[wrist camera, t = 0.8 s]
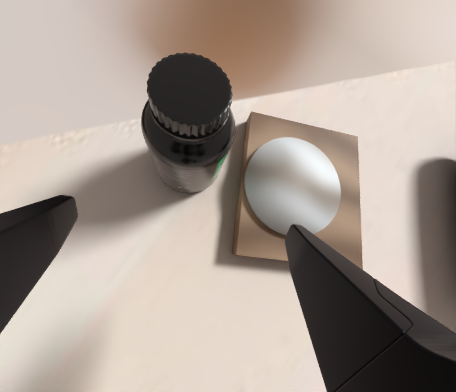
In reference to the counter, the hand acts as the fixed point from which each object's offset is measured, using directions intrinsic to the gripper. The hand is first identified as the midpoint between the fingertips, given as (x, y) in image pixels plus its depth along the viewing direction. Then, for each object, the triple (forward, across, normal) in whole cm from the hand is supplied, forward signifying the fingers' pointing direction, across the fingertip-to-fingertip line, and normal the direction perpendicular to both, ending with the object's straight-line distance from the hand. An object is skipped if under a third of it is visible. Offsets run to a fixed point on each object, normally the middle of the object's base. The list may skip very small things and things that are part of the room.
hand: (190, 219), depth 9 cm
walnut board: (+14, -12, +5) cm, 19 cm away
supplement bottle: (+15, +1, +4) cm, 15 cm away
